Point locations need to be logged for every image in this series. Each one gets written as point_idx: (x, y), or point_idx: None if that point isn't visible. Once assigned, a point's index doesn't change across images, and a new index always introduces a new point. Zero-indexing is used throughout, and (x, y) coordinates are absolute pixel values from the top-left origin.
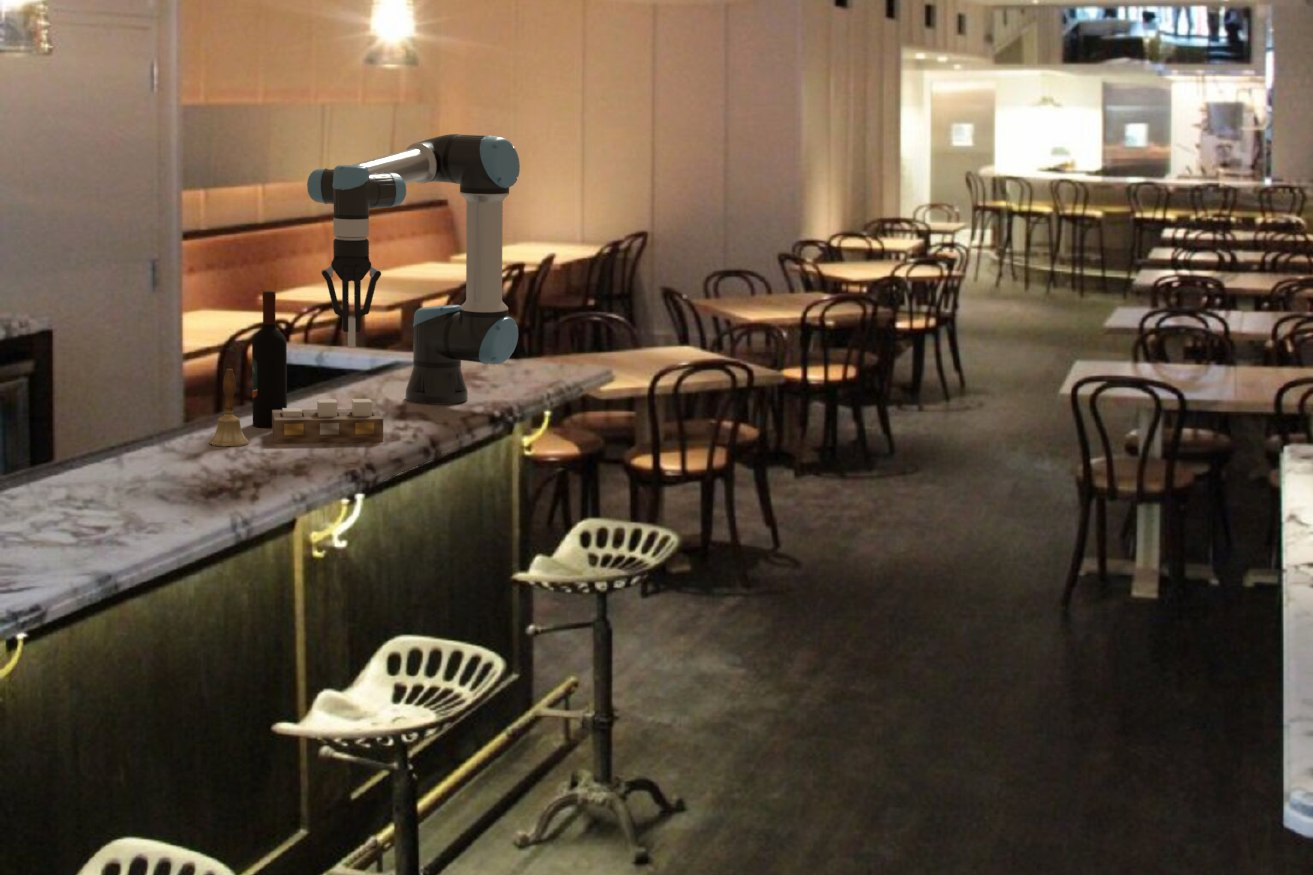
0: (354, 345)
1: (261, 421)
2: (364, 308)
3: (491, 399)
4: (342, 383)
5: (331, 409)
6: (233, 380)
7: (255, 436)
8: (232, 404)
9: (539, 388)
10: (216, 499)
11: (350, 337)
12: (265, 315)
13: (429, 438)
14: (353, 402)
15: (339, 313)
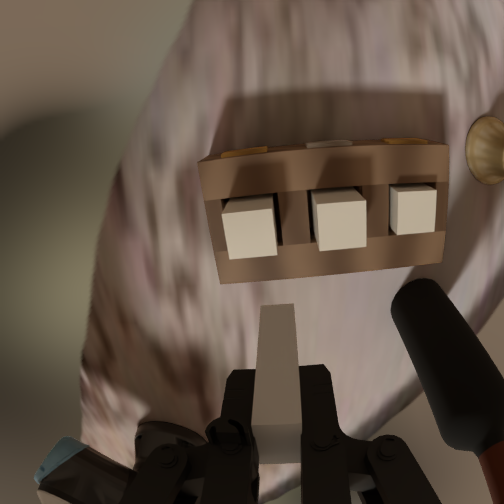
0: (265, 311)
1: (438, 286)
2: (174, 480)
3: (116, 432)
4: (284, 488)
5: (329, 198)
6: None
7: (452, 207)
8: None
9: None
10: None
11: (285, 336)
12: None
13: (125, 197)
14: (272, 211)
15: (370, 444)
